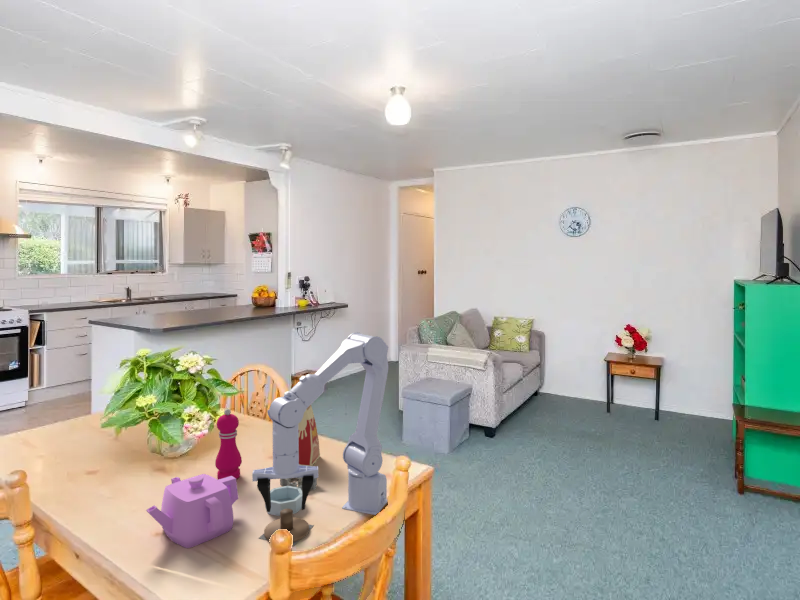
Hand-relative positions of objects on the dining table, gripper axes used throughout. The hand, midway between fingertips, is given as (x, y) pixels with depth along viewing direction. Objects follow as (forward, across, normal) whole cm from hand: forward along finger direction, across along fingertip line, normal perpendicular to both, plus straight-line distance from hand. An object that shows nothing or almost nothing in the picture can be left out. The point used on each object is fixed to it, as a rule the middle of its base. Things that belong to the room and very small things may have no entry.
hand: (286, 508), depth 113 cm
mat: (+6, 0, 0) cm, 6 cm away
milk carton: (+6, -2, -41) cm, 42 cm away
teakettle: (+6, +21, -5) cm, 23 cm away
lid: (+6, 0, 0) cm, 6 cm away
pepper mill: (+6, +18, -33) cm, 38 cm away
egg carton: (+6, -2, -24) cm, 25 cm away
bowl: (+6, +1, -12) cm, 14 cm away
